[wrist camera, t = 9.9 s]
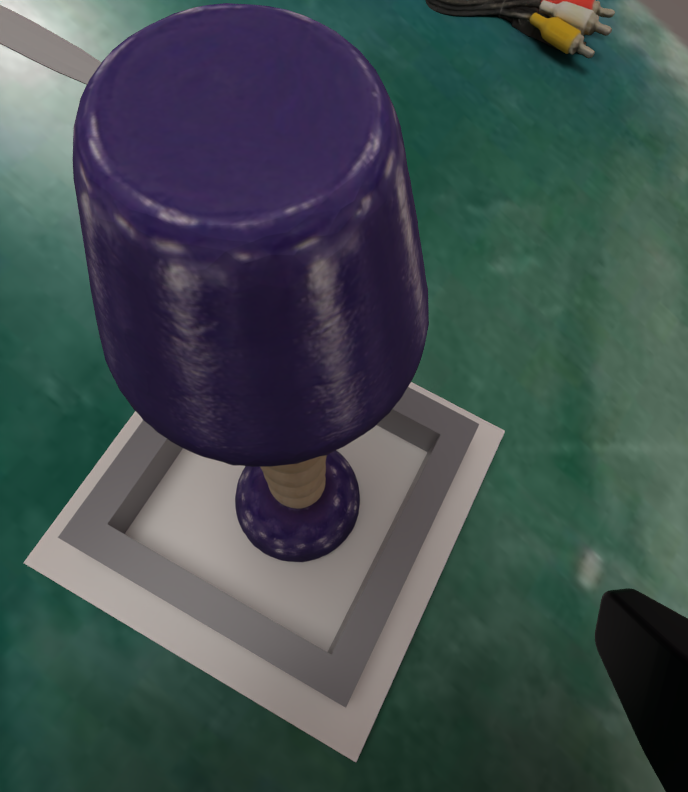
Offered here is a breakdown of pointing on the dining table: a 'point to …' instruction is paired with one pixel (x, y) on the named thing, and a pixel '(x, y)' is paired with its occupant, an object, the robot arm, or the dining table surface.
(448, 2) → the composite cable
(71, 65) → the butter knife
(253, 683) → the socket plate
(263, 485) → the toy lamp
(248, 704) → the dining table surface
